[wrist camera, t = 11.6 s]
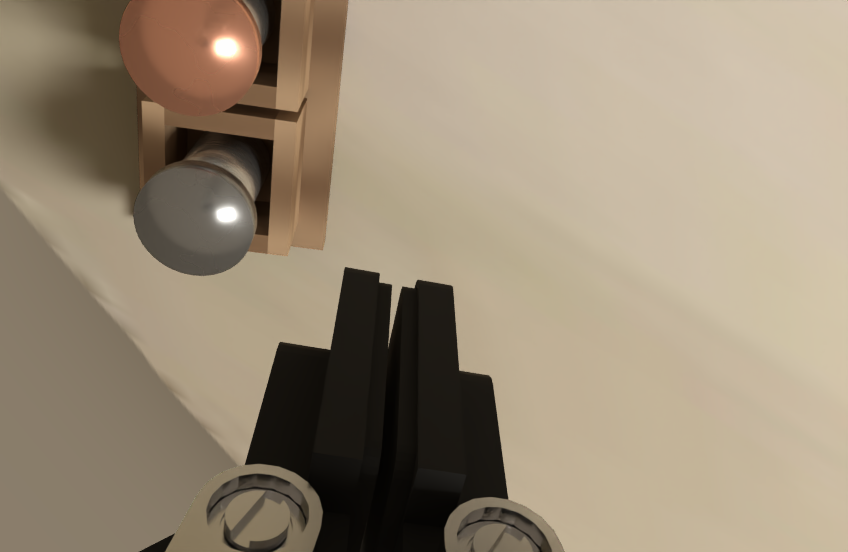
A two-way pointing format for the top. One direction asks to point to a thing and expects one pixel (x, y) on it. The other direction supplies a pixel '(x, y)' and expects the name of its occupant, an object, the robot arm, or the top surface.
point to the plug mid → (195, 50)
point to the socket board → (273, 124)
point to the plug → (204, 205)
